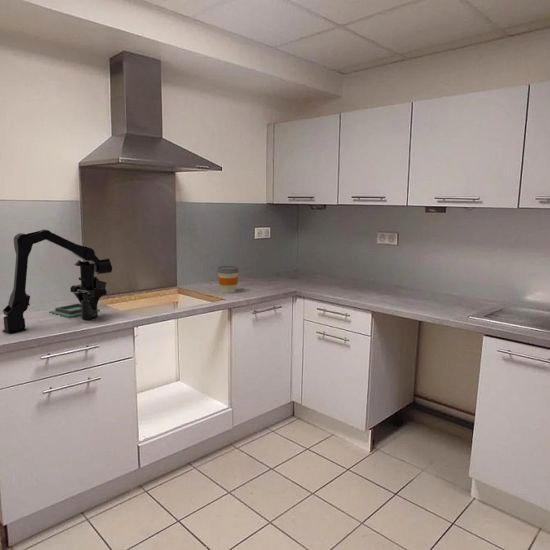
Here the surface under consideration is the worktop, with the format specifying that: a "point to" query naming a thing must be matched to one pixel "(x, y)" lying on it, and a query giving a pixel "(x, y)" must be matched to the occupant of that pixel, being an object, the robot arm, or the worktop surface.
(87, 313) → the supplement bottle
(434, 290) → the worktop surface
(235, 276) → the reusable coffee cup
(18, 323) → the robot arm
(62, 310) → the dock board
